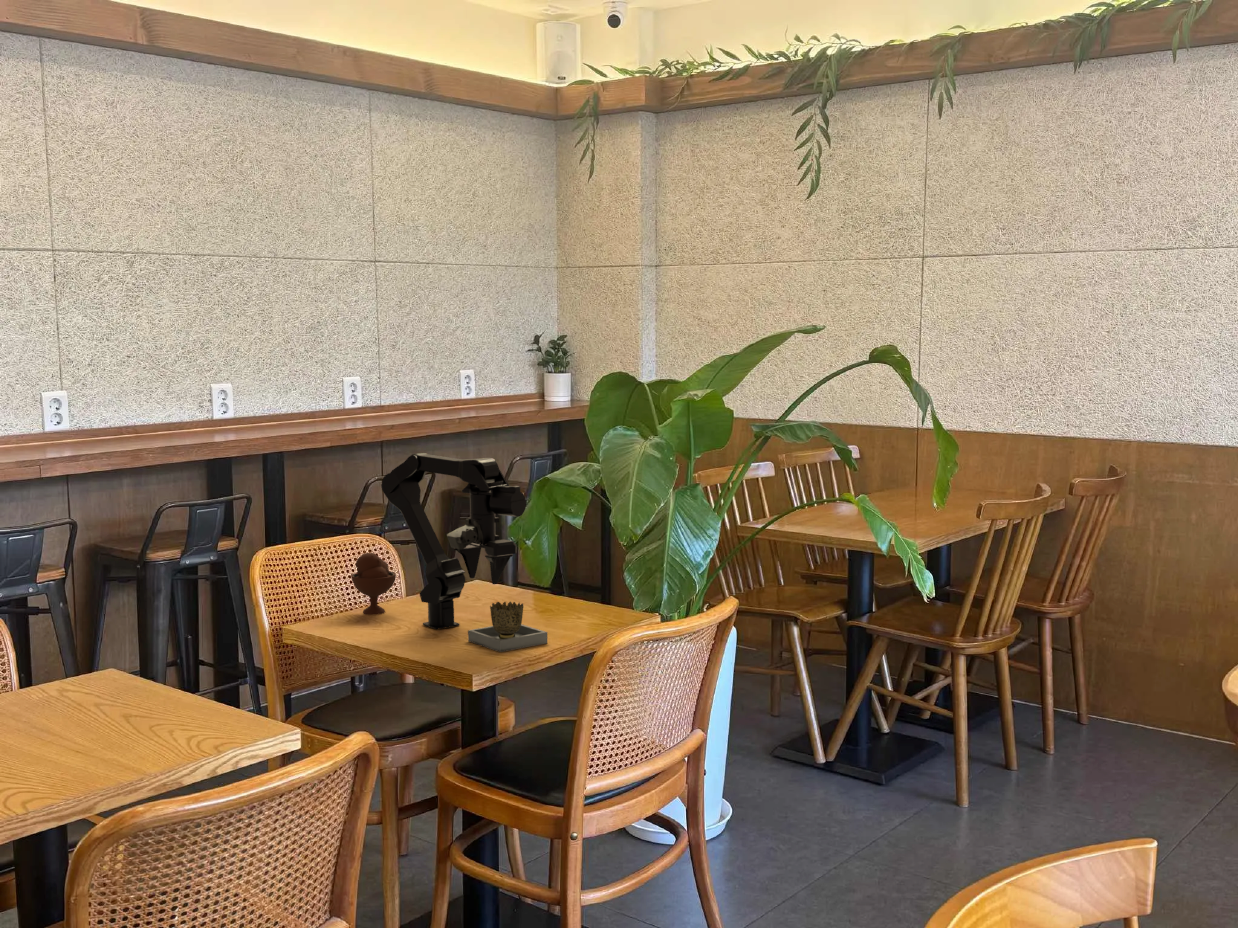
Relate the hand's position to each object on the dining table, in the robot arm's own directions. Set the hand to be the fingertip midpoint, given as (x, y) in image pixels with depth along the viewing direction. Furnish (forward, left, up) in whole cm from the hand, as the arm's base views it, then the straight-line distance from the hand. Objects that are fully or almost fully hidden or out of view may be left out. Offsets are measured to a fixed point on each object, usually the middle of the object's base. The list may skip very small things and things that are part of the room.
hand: (483, 581), depth 281 cm
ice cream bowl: (-35, -9, -12) cm, 38 cm away
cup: (+11, -1, -12) cm, 16 cm away
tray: (+11, -1, -12) cm, 16 cm away
